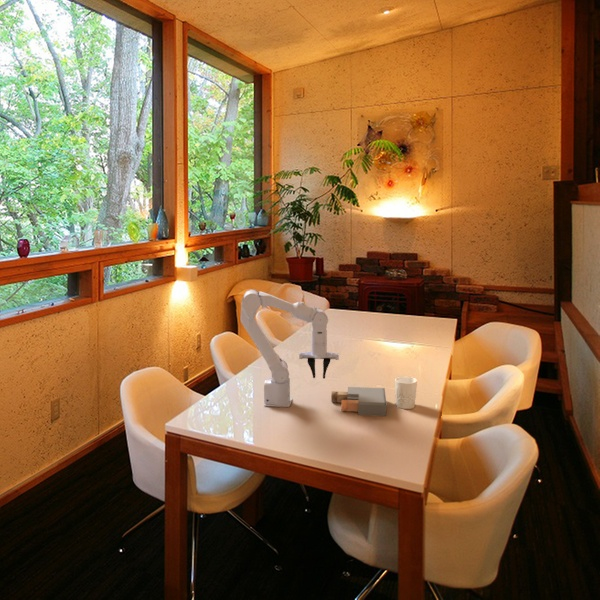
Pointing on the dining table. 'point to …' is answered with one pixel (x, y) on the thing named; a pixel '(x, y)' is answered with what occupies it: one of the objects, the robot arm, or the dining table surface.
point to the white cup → (405, 392)
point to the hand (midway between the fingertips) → (319, 377)
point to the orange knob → (349, 405)
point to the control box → (369, 400)
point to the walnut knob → (338, 396)
